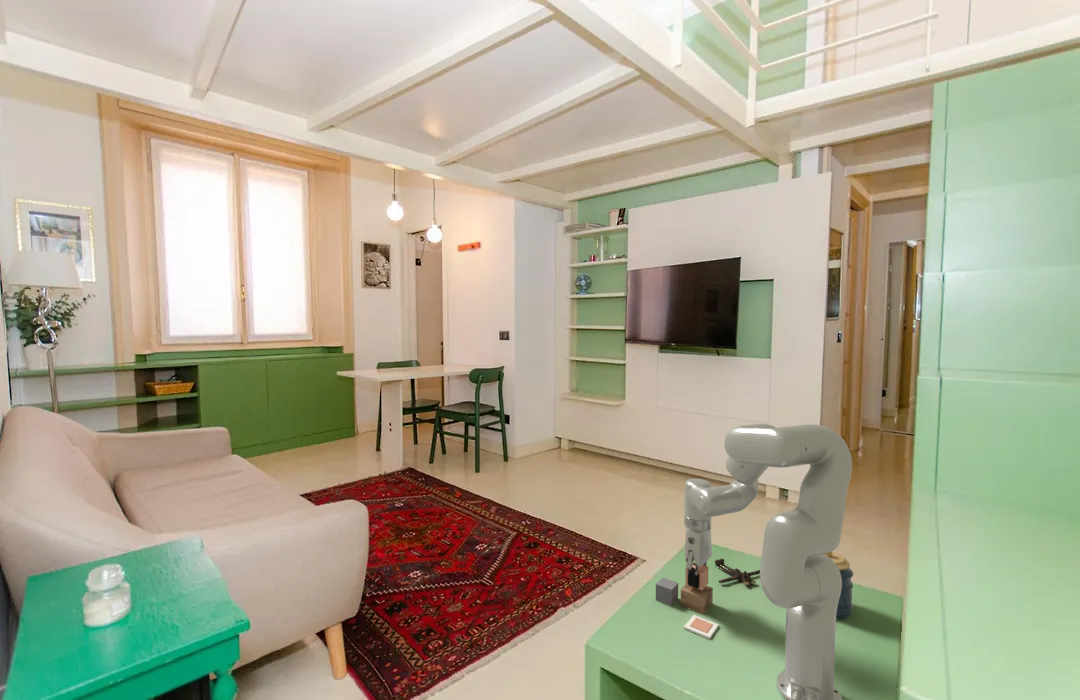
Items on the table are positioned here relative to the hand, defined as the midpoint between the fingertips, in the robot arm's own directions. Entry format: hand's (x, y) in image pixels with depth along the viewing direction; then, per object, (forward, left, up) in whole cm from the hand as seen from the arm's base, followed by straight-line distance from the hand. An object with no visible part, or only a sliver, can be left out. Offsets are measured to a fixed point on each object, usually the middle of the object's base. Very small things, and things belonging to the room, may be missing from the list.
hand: (697, 581), depth 137 cm
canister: (+23, -30, -7) cm, 38 cm away
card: (-10, -5, -7) cm, 13 cm away
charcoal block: (-3, +8, -7) cm, 11 cm away
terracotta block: (0, 0, -1) cm, 1 cm away
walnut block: (0, 0, -7) cm, 7 cm away
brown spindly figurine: (+24, -4, -7) cm, 26 cm away
